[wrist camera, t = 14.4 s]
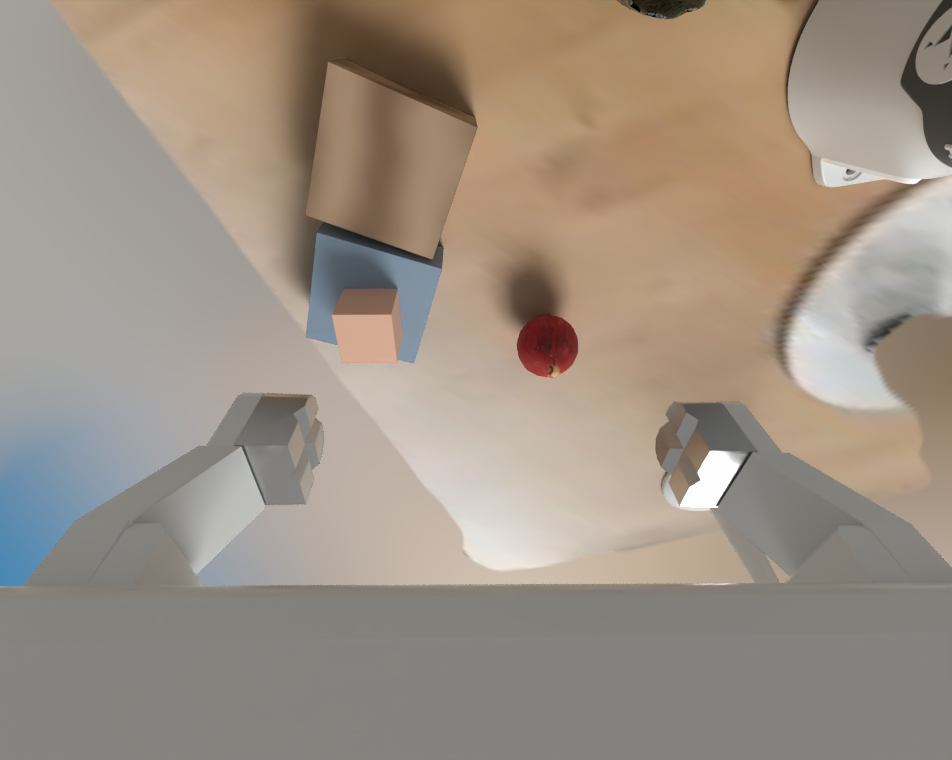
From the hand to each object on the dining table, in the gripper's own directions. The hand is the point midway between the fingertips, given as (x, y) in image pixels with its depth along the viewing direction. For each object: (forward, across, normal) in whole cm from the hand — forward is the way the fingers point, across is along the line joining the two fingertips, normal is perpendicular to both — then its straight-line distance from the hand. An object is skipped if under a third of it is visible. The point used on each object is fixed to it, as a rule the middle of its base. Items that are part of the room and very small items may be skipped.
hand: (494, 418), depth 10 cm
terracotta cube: (+26, +8, +12) cm, 30 cm away
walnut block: (+31, +6, +1) cm, 32 cm away
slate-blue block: (+32, +8, +12) cm, 35 cm away
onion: (+31, -8, +16) cm, 36 cm away
